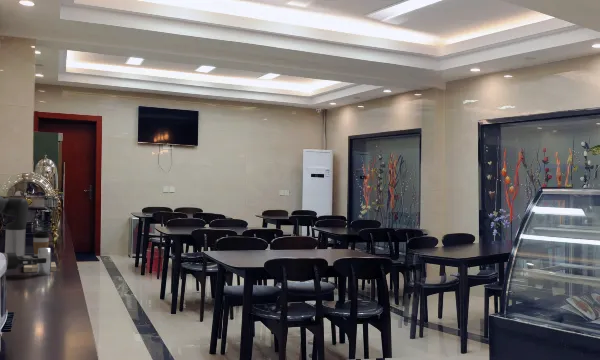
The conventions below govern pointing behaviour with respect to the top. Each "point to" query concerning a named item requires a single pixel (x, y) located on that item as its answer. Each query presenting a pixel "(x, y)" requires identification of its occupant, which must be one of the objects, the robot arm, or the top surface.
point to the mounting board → (35, 267)
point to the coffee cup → (40, 241)
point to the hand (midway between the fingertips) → (43, 259)
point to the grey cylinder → (46, 267)
